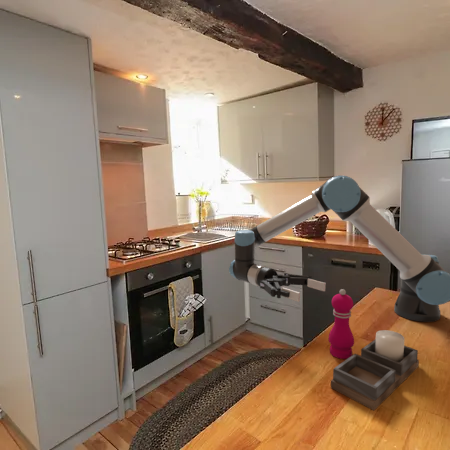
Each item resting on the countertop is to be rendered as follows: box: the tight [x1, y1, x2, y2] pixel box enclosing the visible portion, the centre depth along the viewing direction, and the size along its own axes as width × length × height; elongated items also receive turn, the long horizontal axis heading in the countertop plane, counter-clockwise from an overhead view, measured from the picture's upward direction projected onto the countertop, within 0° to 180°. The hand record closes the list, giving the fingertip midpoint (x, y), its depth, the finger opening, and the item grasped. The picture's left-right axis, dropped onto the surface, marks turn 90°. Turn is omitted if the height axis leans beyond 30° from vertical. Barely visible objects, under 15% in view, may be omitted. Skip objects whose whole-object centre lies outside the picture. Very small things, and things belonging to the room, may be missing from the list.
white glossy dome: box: [375, 329, 405, 363], centre depth 91 cm, size 7×7×7 cm
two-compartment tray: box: [330, 338, 420, 411], centre depth 87 cm, size 26×11×5 cm, turn 130°
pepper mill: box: [328, 288, 355, 360], centre depth 98 cm, size 7×7×20 cm
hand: (312, 292), depth 104 cm, fingers open, 13 cm apart
